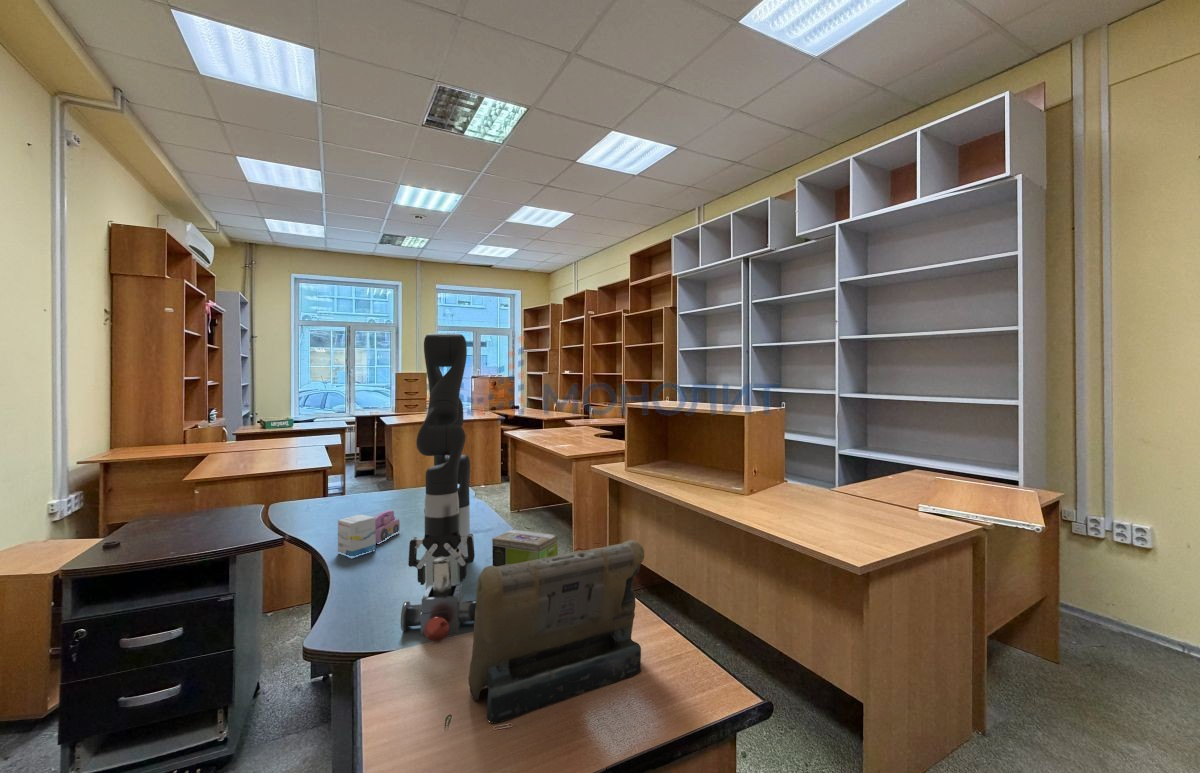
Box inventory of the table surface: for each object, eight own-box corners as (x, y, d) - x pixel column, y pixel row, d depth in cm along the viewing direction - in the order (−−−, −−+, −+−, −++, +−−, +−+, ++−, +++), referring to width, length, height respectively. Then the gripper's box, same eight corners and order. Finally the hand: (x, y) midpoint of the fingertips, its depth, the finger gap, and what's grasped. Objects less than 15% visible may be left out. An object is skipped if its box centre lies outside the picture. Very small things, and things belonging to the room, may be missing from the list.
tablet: (612, 638, 103) (611, 523, 103) (653, 670, 91) (652, 540, 91) (463, 692, 85) (462, 553, 85) (490, 740, 73) (490, 579, 73)
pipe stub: (435, 599, 110) (434, 558, 109) (452, 598, 111) (452, 556, 110) (431, 608, 106) (431, 565, 105) (450, 607, 107) (449, 564, 106)
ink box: (376, 551, 158) (376, 517, 158) (351, 559, 151) (351, 523, 151) (361, 547, 163) (361, 513, 163) (337, 554, 156) (336, 519, 156)
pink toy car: (380, 546, 164) (379, 517, 164) (362, 546, 164) (362, 517, 164) (406, 531, 181) (406, 504, 181) (390, 530, 182) (390, 504, 182)
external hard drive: (458, 590, 127) (457, 544, 127) (426, 598, 123) (426, 550, 123) (456, 588, 129) (456, 543, 129) (425, 596, 124) (424, 549, 124)
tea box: (559, 588, 129) (558, 533, 129) (539, 603, 120) (539, 545, 120) (513, 579, 135) (513, 527, 135) (491, 593, 126) (491, 537, 126)
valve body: (408, 620, 111) (408, 586, 111) (481, 614, 114) (481, 581, 114) (395, 647, 100) (395, 609, 100) (477, 640, 102) (476, 603, 102)
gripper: (475, 506, 113) (475, 573, 113) (413, 509, 111) (413, 578, 111) (472, 514, 106) (472, 586, 106) (405, 517, 104) (405, 591, 104)
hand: (442, 582), depth 109 cm, fingers open, 8 cm apart
